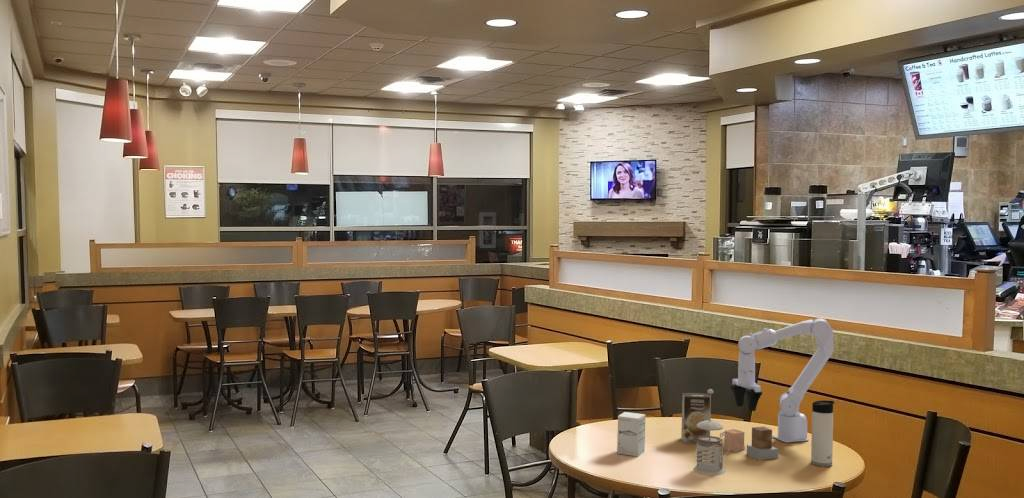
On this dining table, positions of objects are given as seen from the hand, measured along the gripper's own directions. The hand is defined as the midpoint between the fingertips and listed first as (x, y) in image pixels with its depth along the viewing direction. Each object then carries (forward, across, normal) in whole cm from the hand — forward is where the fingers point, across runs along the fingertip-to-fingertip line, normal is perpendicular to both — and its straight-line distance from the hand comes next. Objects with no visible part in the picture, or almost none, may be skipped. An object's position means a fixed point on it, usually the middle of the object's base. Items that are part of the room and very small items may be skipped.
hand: (746, 408), depth 299 cm
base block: (+10, +23, -9) cm, 27 cm away
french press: (+10, +32, -33) cm, 47 cm away
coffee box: (+10, 0, -20) cm, 22 cm away
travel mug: (+10, +36, +4) cm, 38 cm away
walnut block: (+7, +23, -9) cm, 26 cm away
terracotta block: (+10, +13, -13) cm, 21 cm away
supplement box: (+10, +7, -48) cm, 50 cm away
